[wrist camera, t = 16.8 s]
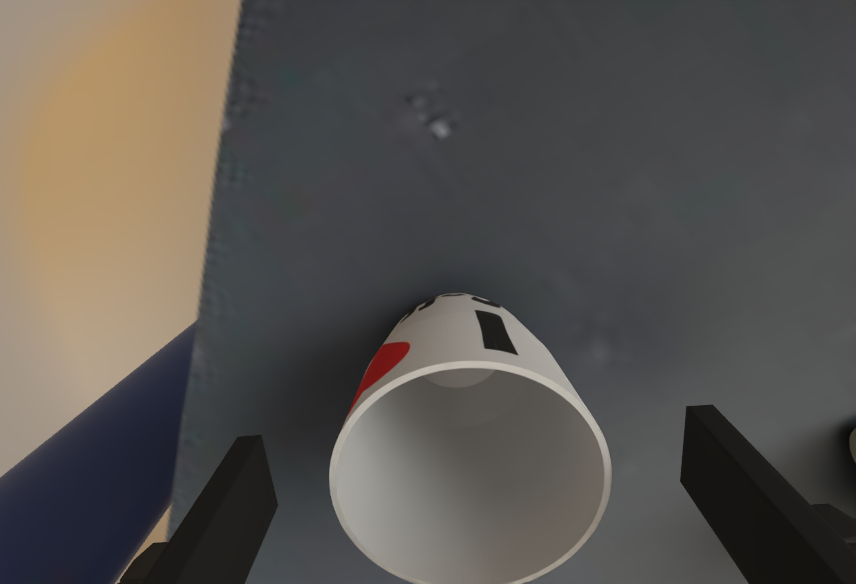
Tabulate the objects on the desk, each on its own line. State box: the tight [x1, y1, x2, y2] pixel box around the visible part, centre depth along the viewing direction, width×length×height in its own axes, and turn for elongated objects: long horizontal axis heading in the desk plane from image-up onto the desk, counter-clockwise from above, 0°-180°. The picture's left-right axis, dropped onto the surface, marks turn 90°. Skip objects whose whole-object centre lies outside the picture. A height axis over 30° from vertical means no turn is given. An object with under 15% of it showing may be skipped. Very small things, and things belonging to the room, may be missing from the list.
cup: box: [329, 293, 612, 584], centre depth 19 cm, size 8×8×10 cm
